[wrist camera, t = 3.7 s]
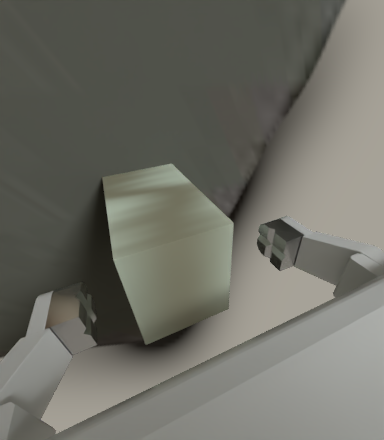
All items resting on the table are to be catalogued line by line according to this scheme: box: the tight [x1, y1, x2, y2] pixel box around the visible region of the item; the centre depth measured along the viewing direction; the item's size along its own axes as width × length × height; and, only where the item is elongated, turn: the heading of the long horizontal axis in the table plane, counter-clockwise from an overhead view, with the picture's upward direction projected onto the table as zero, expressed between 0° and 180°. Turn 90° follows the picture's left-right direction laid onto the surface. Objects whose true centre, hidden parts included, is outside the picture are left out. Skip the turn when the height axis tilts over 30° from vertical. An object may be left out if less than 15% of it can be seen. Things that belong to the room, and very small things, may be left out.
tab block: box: [102, 164, 233, 345], centre depth 11 cm, size 4×5×7 cm
